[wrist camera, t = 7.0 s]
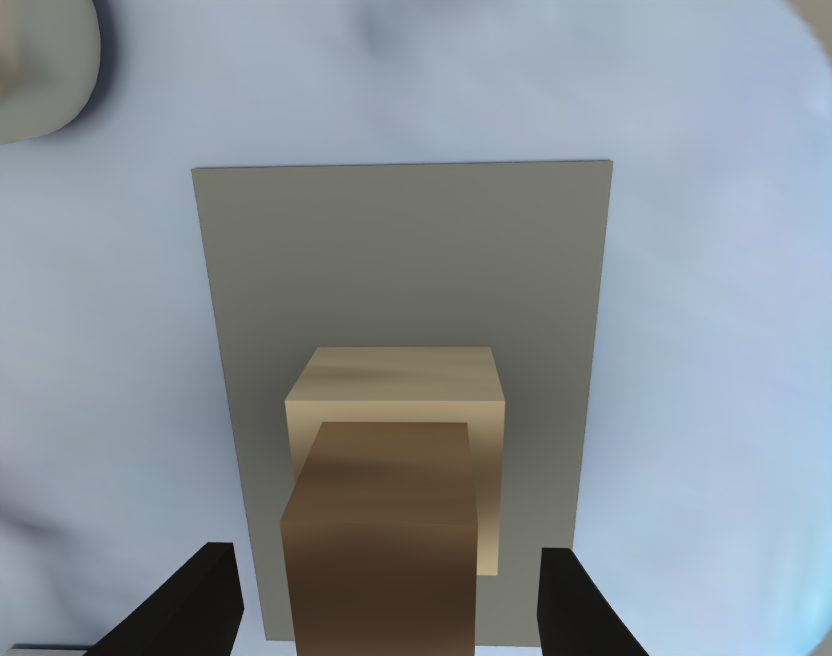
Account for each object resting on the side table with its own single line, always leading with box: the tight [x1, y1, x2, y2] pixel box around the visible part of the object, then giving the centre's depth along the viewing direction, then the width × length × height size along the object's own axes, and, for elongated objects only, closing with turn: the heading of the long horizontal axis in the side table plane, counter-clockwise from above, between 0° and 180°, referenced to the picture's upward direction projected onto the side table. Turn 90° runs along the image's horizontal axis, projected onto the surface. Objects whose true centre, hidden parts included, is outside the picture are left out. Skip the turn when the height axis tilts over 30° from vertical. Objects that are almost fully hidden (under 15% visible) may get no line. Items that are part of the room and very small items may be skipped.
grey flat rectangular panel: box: [191, 161, 613, 647], centre depth 19 cm, size 20×13×1 cm, turn 1°
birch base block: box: [285, 347, 505, 575], centre depth 16 cm, size 6×6×4 cm
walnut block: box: [279, 422, 478, 656], centre depth 13 cm, size 4×4×4 cm
